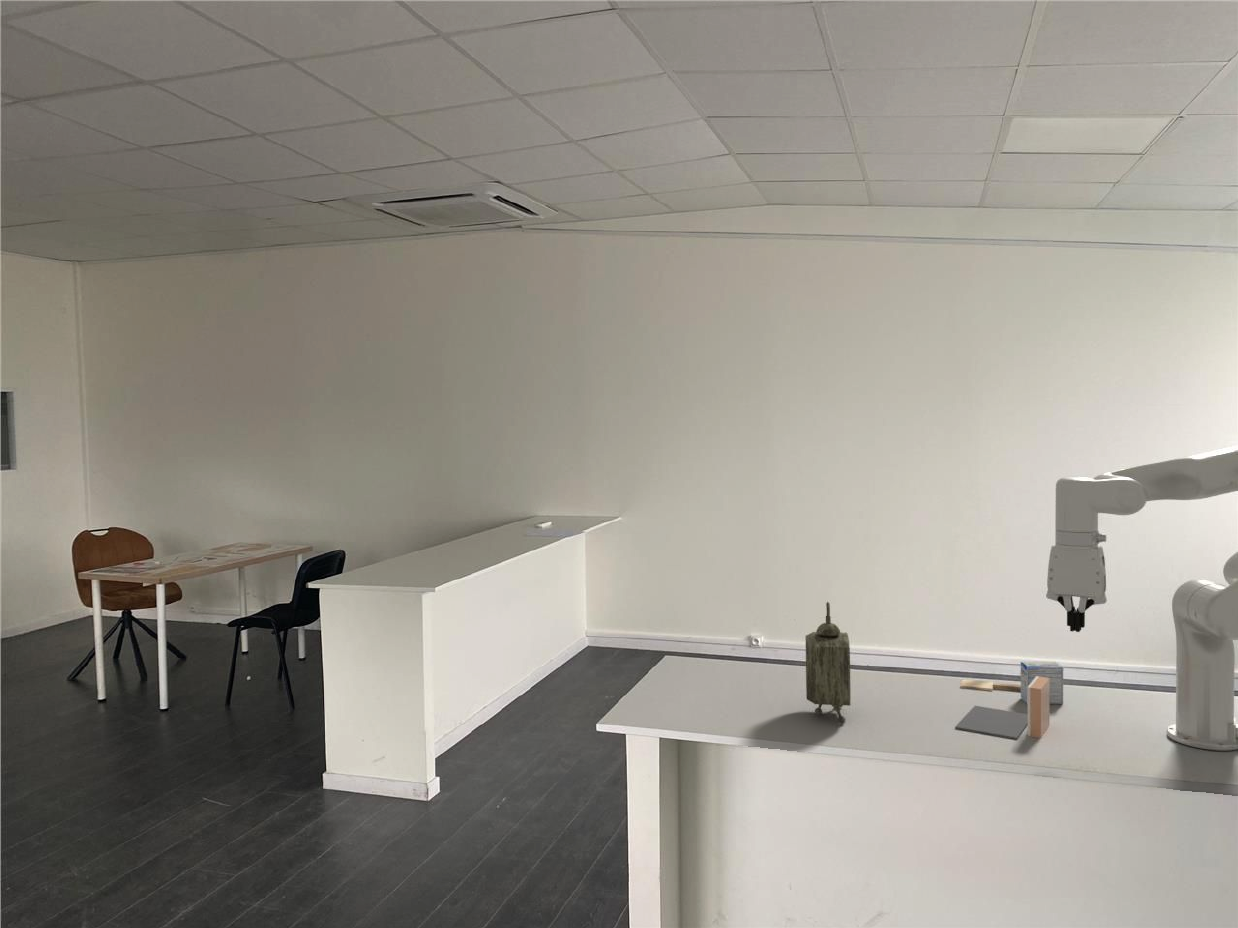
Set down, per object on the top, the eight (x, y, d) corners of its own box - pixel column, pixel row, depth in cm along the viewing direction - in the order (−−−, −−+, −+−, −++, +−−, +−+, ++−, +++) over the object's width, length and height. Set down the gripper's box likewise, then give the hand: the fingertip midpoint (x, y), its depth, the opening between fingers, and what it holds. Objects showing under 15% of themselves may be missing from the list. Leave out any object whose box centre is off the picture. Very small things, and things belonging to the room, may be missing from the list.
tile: (1049, 724, 184) (1049, 677, 183) (1041, 738, 176) (1040, 689, 176) (1036, 722, 185) (1036, 676, 185) (1027, 735, 178) (1027, 687, 177)
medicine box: (1056, 698, 200) (1056, 661, 200) (1063, 704, 196) (1063, 666, 196) (1020, 698, 201) (1020, 661, 201) (1027, 704, 197) (1027, 666, 196)
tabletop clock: (850, 727, 185) (849, 610, 184) (807, 725, 187) (805, 609, 185) (847, 705, 199) (845, 596, 198) (806, 703, 201) (804, 595, 200)
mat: (1033, 716, 189) (1033, 714, 189) (1017, 739, 176) (1017, 737, 176) (974, 707, 196) (974, 705, 196) (955, 728, 183) (955, 726, 183)
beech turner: (1039, 688, 207) (1039, 684, 207) (1039, 695, 202) (1039, 691, 202) (962, 681, 215) (962, 677, 215) (960, 688, 210) (960, 683, 210)
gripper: (1121, 539, 173) (1120, 631, 174) (1039, 534, 182) (1038, 622, 183) (1116, 544, 167) (1116, 639, 168) (1031, 539, 176) (1031, 629, 177)
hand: (1075, 630), depth 176 cm, fingers closed
